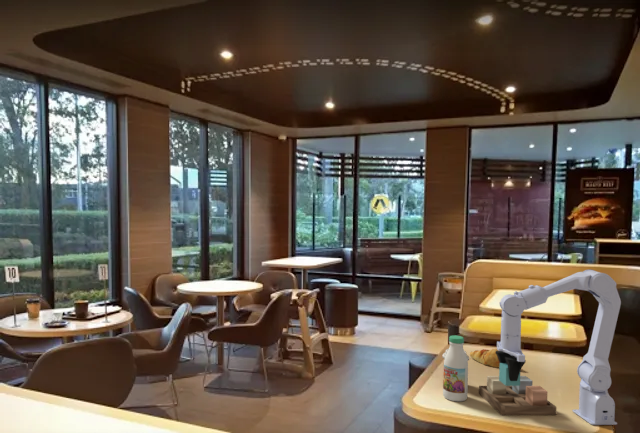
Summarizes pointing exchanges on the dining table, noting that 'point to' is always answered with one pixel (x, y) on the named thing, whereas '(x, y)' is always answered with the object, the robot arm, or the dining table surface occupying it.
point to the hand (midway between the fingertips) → (509, 377)
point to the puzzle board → (517, 397)
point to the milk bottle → (455, 371)
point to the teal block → (507, 376)
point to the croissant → (486, 357)
